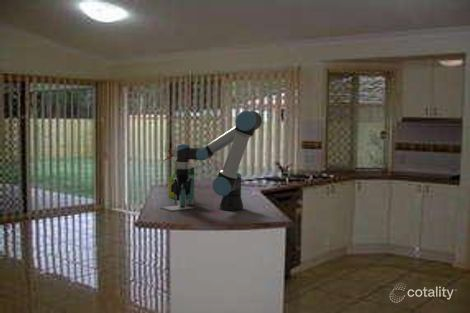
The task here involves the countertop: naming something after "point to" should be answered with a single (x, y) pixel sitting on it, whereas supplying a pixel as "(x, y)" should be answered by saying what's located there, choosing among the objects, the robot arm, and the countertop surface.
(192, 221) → the countertop surface
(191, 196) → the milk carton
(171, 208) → the writing board
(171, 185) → the spray bottle
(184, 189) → the teal and grey cylinder
